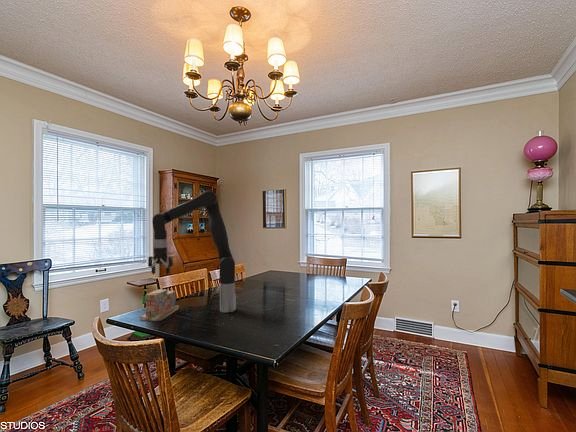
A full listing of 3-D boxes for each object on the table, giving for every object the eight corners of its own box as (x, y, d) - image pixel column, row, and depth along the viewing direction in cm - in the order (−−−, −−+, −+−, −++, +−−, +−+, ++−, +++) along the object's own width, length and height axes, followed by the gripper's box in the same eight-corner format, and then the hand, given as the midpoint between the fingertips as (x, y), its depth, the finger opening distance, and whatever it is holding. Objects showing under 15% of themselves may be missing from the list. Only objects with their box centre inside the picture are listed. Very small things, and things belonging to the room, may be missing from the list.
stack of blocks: (166, 305, 189) (166, 285, 189) (175, 305, 188) (175, 286, 188) (145, 316, 168) (145, 294, 168) (155, 316, 167) (155, 294, 167)
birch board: (178, 308, 188) (178, 305, 188) (160, 320, 166) (160, 317, 166) (160, 308, 189) (160, 305, 189) (140, 320, 167) (140, 316, 167)
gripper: (174, 246, 181) (175, 272, 181) (152, 246, 182) (152, 272, 182) (168, 247, 174) (168, 275, 173) (145, 247, 175) (145, 274, 175)
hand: (160, 273), depth 178 cm, fingers open, 8 cm apart
